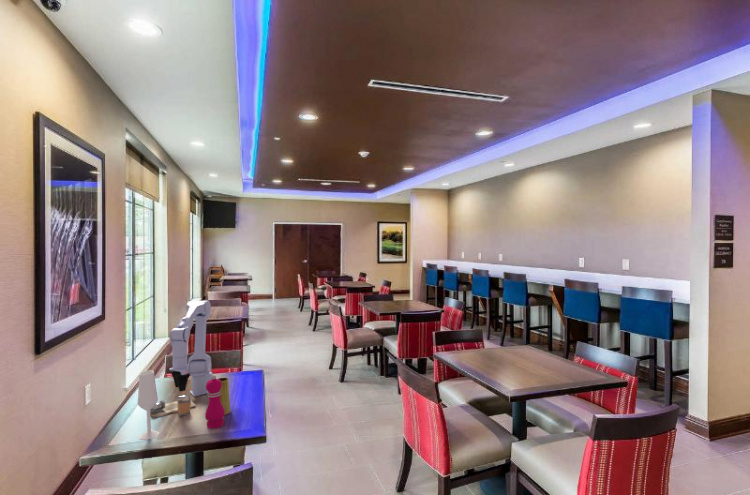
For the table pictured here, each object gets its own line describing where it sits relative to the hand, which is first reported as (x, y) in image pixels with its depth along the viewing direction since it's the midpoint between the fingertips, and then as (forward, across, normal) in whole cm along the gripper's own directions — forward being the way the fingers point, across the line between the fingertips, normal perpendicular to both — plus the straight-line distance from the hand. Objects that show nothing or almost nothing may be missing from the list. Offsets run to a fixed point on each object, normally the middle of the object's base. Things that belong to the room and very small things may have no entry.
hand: (180, 388), depth 175 cm
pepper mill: (+12, +20, +8) cm, 25 cm away
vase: (+11, +10, +14) cm, 21 cm away
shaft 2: (+10, -9, +3) cm, 14 cm away
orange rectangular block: (+11, 0, +1) cm, 11 cm away
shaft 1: (+10, -8, -7) cm, 15 cm away
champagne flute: (+12, +12, -14) cm, 22 cm away
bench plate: (+10, -9, -2) cm, 14 cm away
